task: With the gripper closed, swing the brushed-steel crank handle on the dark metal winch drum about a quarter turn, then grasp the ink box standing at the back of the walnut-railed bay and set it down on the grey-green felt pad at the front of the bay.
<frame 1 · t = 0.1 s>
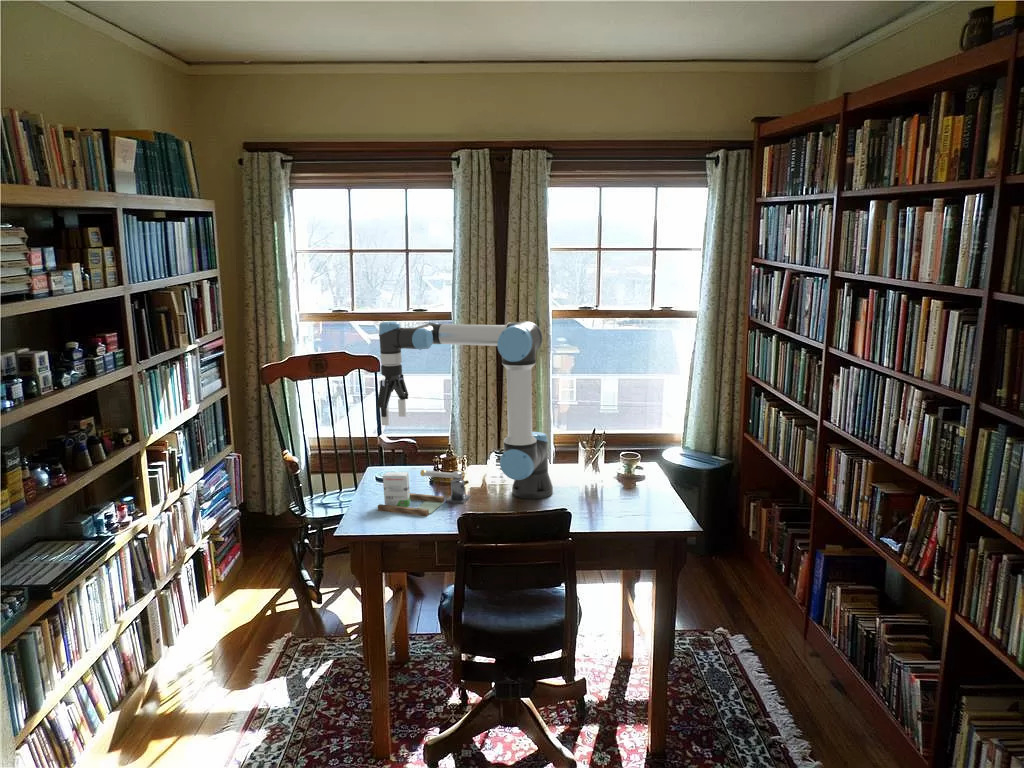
hand: (394, 420, 284), 28 cm above the table, fingers open, 13 cm apart
ink box: (397, 505, 277), on the table
crank: (441, 474, 281), point 9 cm above the table, hinge at 0.0°
front pad: (428, 508, 273), on the table
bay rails: (411, 506, 275), on the table
winch drum: (458, 499, 281), on the table
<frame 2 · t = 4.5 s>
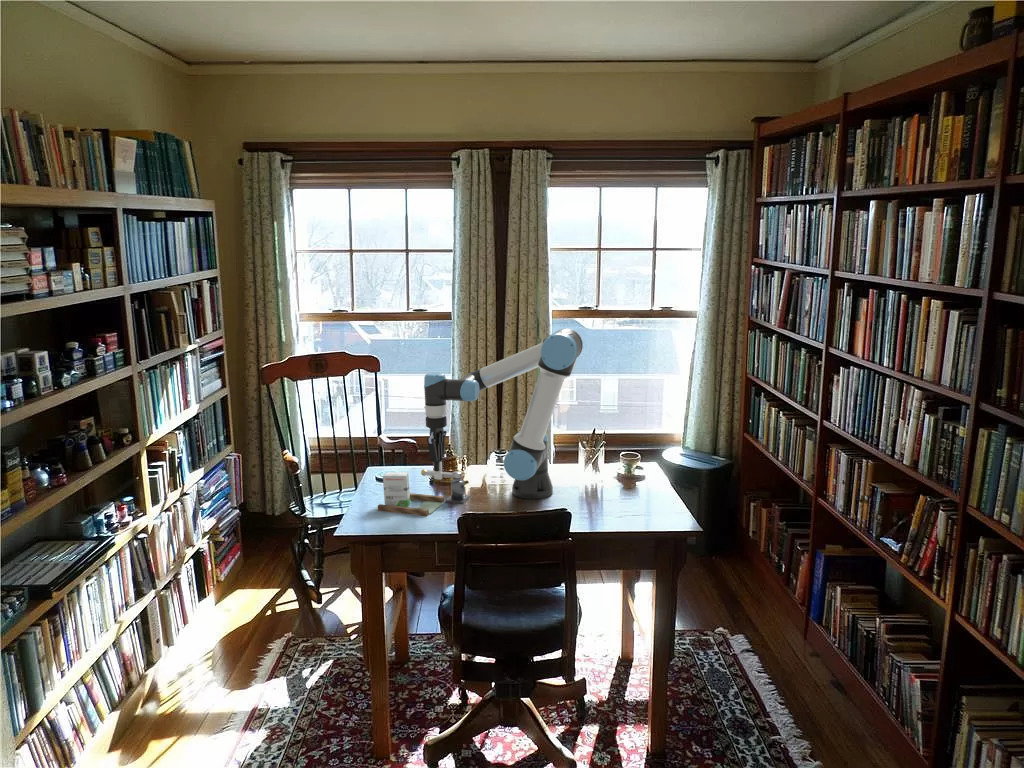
hand: (438, 478, 280), 8 cm above the table, fingers closed
crank: (441, 474, 281), point 9 cm above the table, hinge at -2.4°, touching gripper
everything else where it was.
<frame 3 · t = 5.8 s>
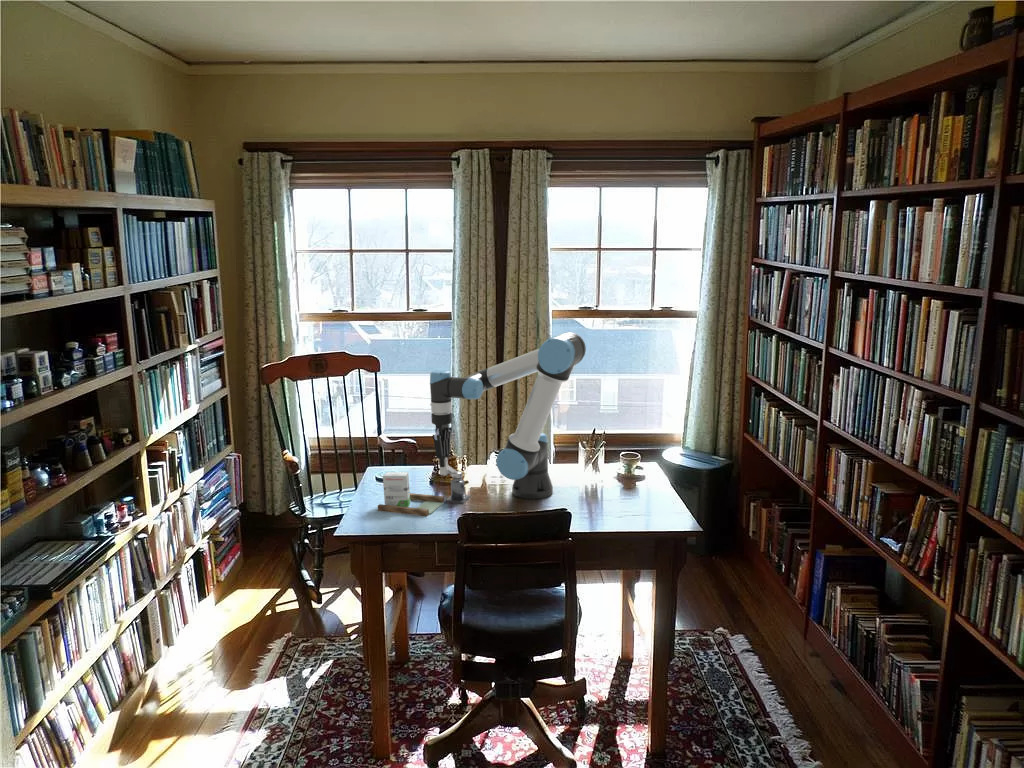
hand: (443, 474, 285), 8 cm above the table, fingers closed
crank: (451, 471, 285), point 9 cm above the table, hinge at -46.7°, touching gripper
everything else where it was.
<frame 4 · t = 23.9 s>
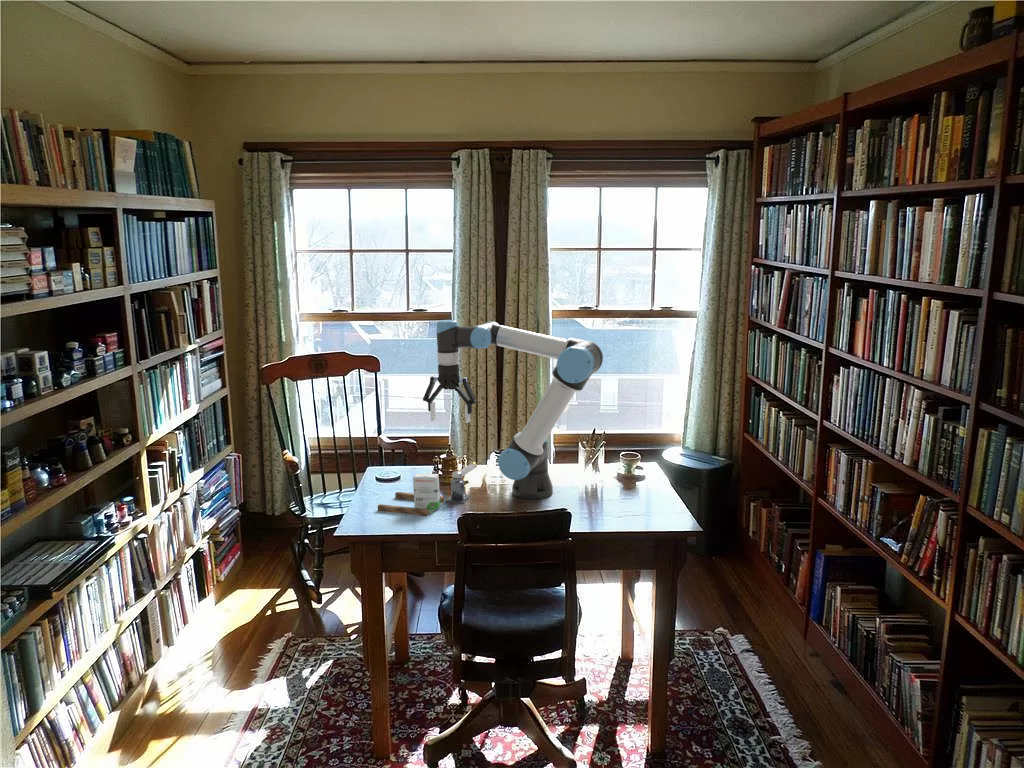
hand: (450, 421, 279), 29 cm above the table, fingers open, 13 cm apart
ink box: (427, 507, 273), resting on front pad
crank: (465, 470, 285), point 9 cm above the table, hinge at -94.7°
at the end: ink box inside the target area (0.2 cm from its centre), resting on front pad; ink box tilted 0°; crank at -95° (first picture: +0°) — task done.
